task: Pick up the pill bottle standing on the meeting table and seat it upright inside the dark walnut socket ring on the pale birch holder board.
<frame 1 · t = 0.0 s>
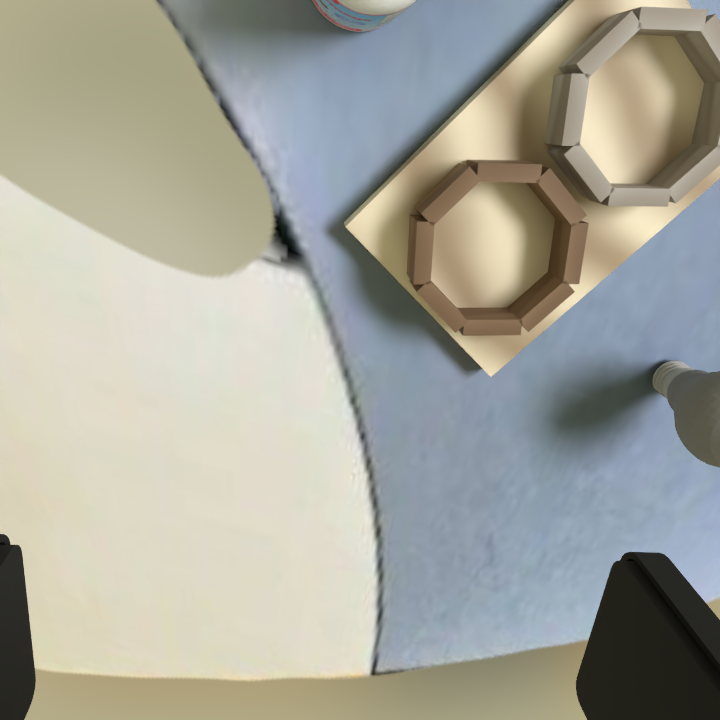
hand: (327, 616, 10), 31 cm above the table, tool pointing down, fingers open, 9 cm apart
holder board: (549, 178, 39), on the table
light bulb: (665, 373, 45), on the table
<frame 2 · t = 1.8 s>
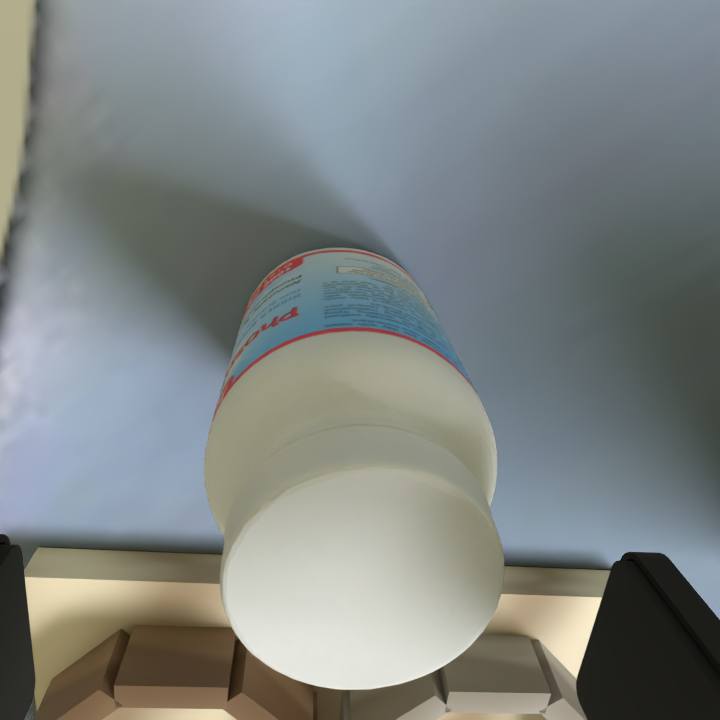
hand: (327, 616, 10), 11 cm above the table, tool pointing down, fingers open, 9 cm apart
holder board: (325, 691, 26), on the table
pill bottle: (337, 333, 20), on the table
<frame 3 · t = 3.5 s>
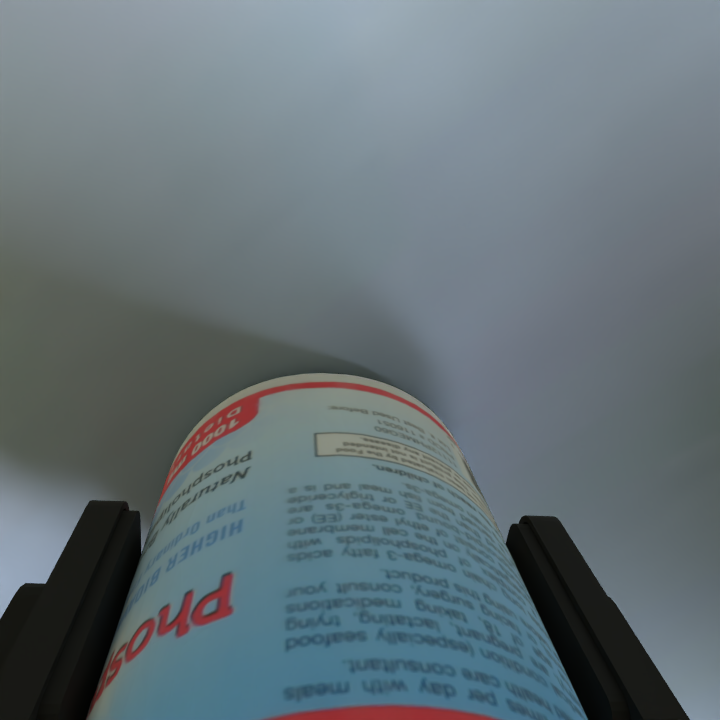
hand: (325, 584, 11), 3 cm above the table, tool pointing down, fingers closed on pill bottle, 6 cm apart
pill bottle: (319, 490, 13), on the table, touching gripper
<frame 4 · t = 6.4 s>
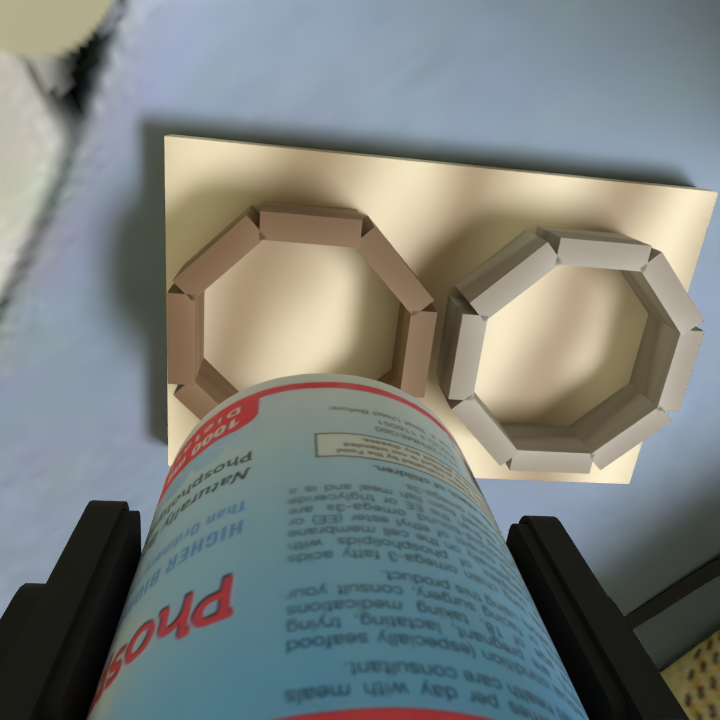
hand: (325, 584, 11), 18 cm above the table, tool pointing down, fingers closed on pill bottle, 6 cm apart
holder board: (424, 323, 28), on the table
clutch purse: (651, 643, 38), on the table
pill bottle: (319, 491, 13), point 15 cm above the table, touching gripper
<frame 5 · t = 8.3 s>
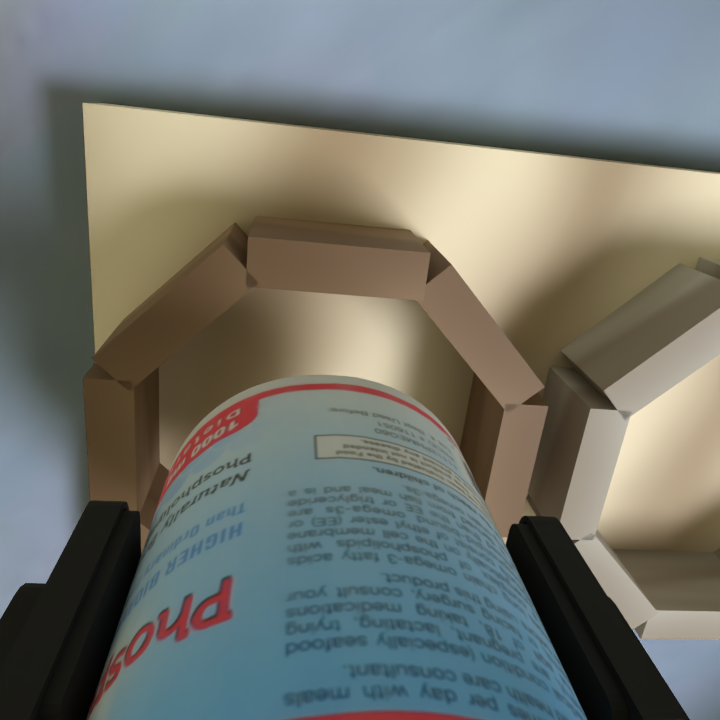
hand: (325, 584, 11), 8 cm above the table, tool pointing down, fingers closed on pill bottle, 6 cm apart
holder board: (501, 401, 18), on the table
pill bottle: (318, 492, 13), point 5 cm above the table, touching gripper
when the fingers open (5 cm above the table, at t = 9.7 s): pill bottle drops 1 cm, resting on holder board.
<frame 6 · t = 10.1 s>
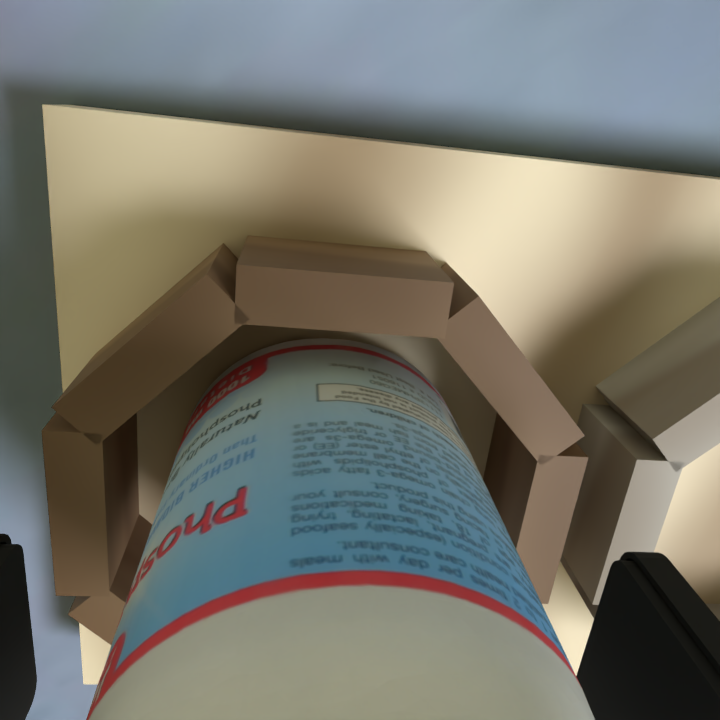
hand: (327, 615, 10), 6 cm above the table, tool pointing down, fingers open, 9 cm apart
holder board: (524, 439, 16), on the table
pill bottle: (321, 449, 15), point 1 cm above the table, touching holder board
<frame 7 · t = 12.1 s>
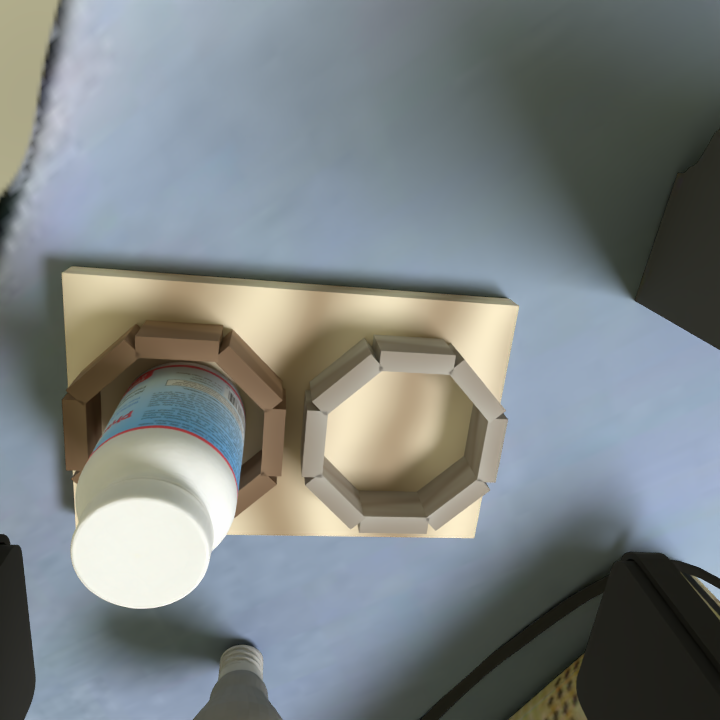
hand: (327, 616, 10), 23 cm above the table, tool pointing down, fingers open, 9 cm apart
holder board: (292, 409, 34), on the table
clutch purse: (521, 674, 43), on the table
pill bottle: (186, 412, 32), point 1 cm above the table, touching holder board
light bulb: (242, 652, 39), on the table
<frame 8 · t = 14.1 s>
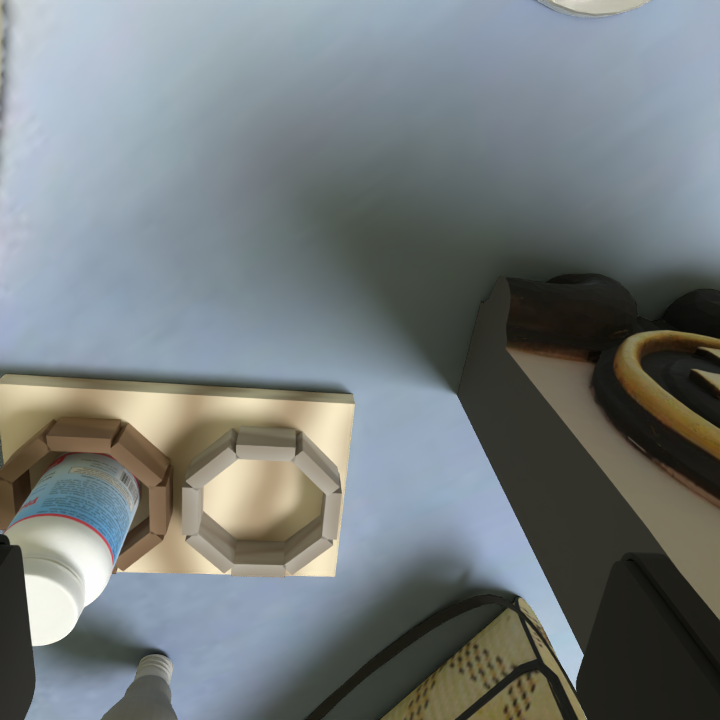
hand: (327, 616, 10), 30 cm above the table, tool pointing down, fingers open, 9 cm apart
holder board: (184, 476, 43), on the table
decorative plaque: (617, 355, 43), on the table
clutch purse: (392, 681, 53), on the table
pill bottle: (96, 482, 41), point 1 cm above the table, touching holder board
light bulb: (157, 659, 49), on the table
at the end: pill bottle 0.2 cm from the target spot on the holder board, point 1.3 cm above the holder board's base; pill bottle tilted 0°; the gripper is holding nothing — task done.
